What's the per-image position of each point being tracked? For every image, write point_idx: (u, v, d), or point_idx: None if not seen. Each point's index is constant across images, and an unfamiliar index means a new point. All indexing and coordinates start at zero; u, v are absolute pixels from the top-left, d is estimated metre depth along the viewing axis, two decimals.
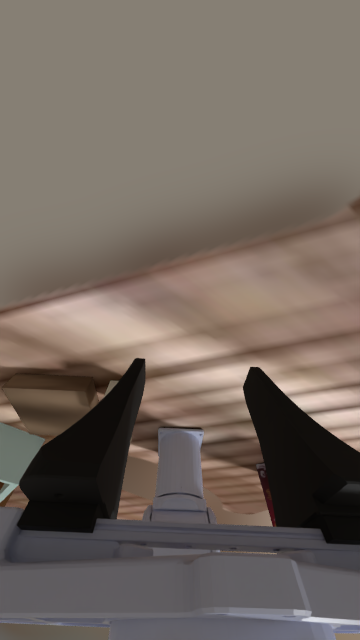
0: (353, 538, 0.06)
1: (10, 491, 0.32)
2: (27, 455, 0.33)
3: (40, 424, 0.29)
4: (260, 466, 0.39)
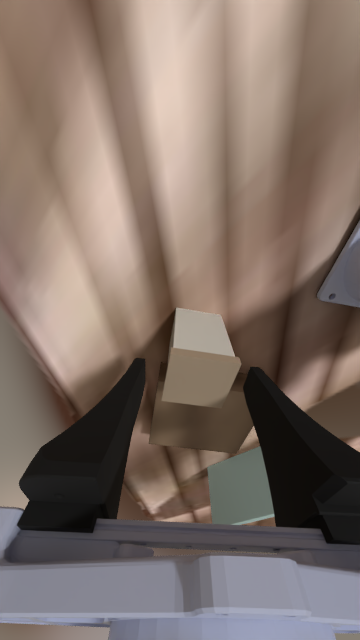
0: (353, 538, 0.06)
1: None
2: None
3: (219, 440, 0.22)
4: None
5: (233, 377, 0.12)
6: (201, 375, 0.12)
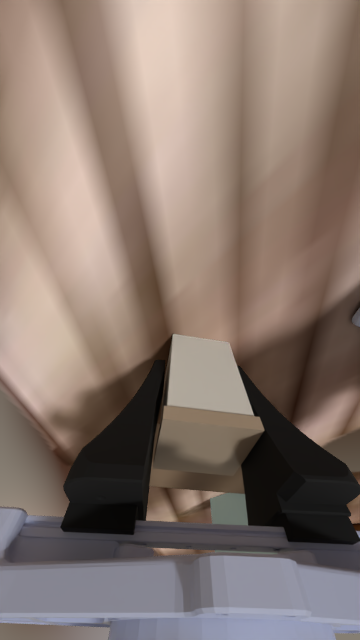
0: (314, 536, 0.06)
1: None
2: None
3: (225, 481, 0.19)
4: None
5: (252, 445, 0.09)
6: (207, 442, 0.09)
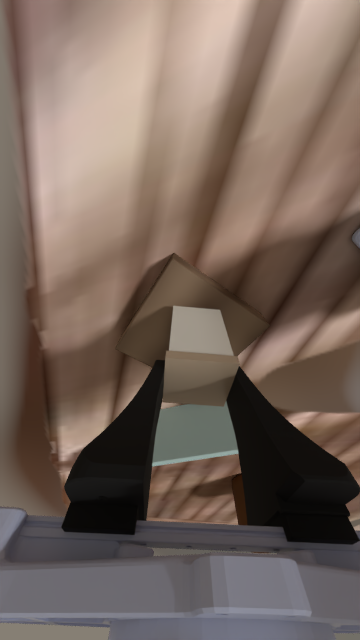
0: (313, 536, 0.06)
1: None
2: (229, 417, 0.24)
3: None
4: None
5: (233, 377, 0.12)
6: (199, 376, 0.12)
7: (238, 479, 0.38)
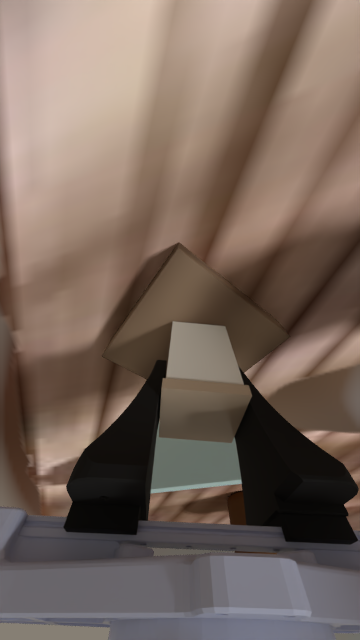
0: (312, 536, 0.06)
1: None
2: None
3: None
4: None
5: (243, 410, 0.10)
6: (203, 409, 0.10)
7: (235, 498, 0.35)
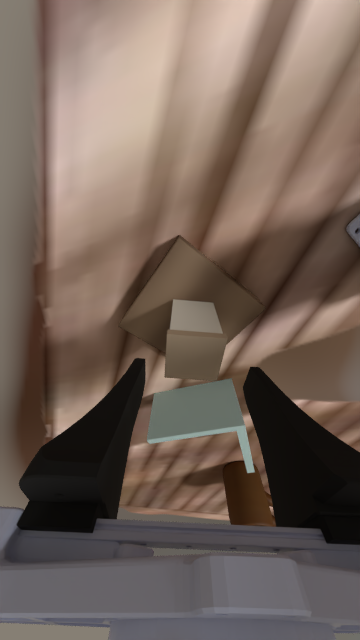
0: (353, 538, 0.06)
1: (247, 442, 0.24)
2: (227, 398, 0.25)
3: None
4: None
5: (222, 351, 0.14)
6: (195, 351, 0.14)
7: (229, 467, 0.40)
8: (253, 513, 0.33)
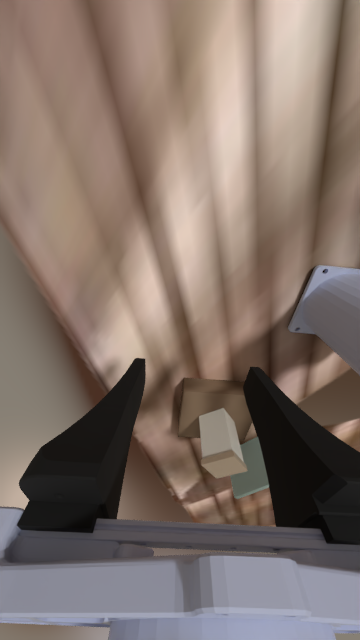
0: (353, 538, 0.06)
1: None
2: None
3: None
4: None
5: (237, 460, 0.23)
6: (222, 465, 0.23)
7: None
8: None
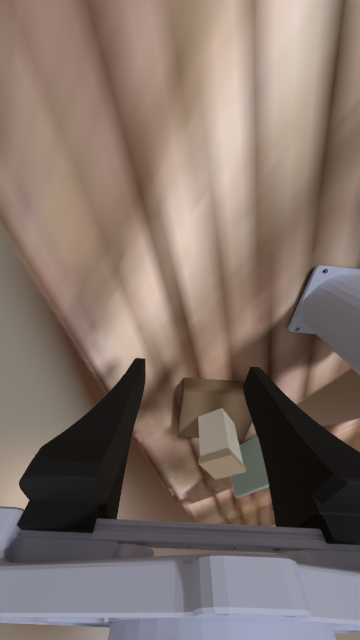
0: (353, 538, 0.06)
1: None
2: None
3: None
4: None
5: (234, 460, 0.22)
6: (219, 464, 0.23)
7: None
8: None
